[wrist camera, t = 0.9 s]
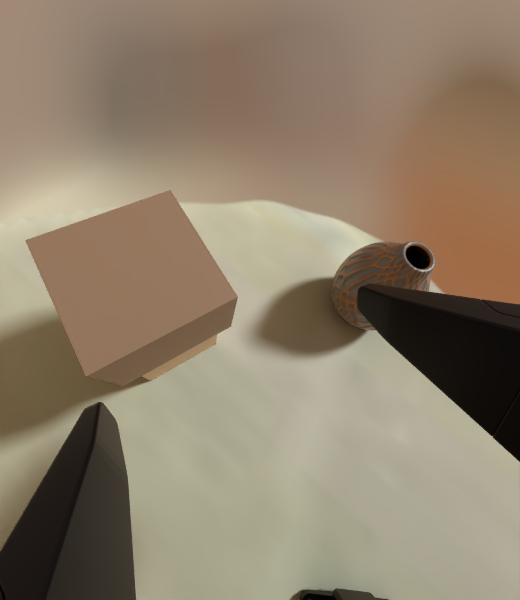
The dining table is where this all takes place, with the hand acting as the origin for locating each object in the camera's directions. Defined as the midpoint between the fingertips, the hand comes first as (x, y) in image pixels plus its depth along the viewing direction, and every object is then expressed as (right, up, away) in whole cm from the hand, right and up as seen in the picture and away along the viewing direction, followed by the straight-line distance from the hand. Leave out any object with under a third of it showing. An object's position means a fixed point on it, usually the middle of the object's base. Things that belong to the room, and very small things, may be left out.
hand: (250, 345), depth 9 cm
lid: (-6, +1, +8) cm, 10 cm away
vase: (+9, +1, +18) cm, 20 cm away
